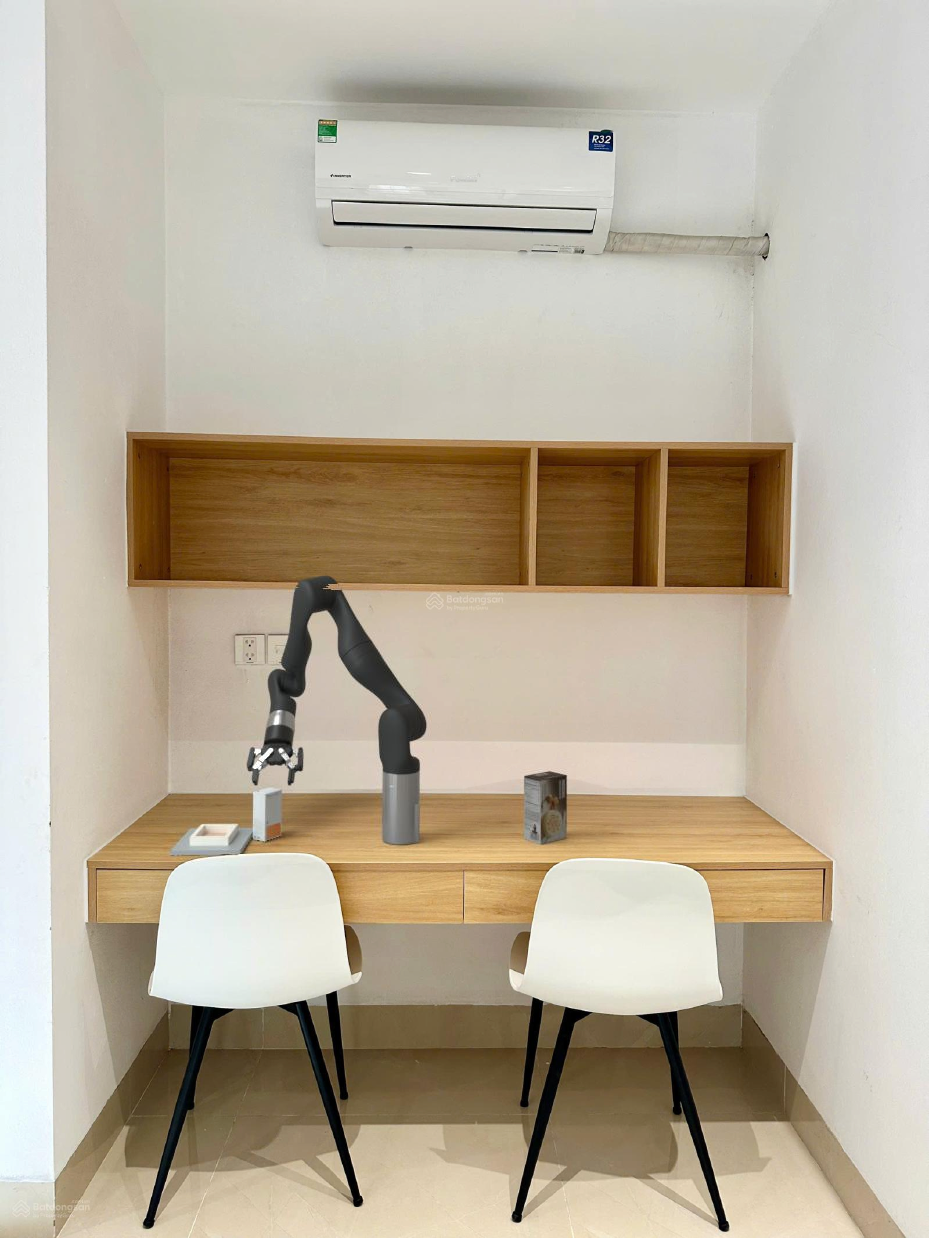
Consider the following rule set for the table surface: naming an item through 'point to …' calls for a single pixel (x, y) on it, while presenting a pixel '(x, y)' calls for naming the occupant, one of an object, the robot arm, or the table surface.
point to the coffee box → (545, 807)
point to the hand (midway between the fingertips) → (272, 783)
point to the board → (213, 840)
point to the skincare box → (267, 814)
